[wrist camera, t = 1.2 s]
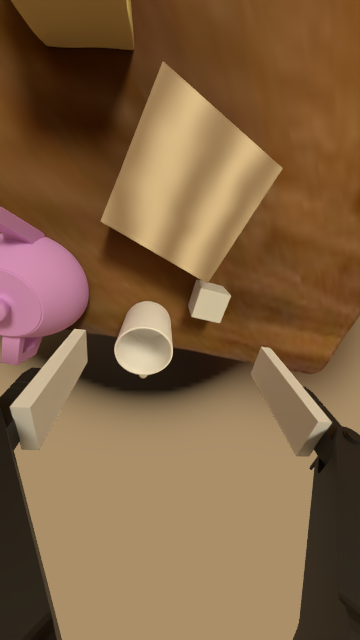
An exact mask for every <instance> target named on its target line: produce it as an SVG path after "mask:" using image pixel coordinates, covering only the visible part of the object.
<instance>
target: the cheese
mask: <svg viewBox="0 0 360 640" xmlns="http://www.w3.org/2000/svg"><path fill="white" fill-rule="evenodd" d="M11 2H12V3H13V4H14V6H15V7H16V9H17V10H18V12H19V13H20V15H21V16H22V17H23V19H24V20H25V22H26V23H27V24H28V26H29V27H30V28H31V30H32V31H33V32H34V33H35V35H36V36H37V37H38V38H39V39H40V40H41V41H42V42H43V43H44V44H45V45H46V46H51V47H65V48H86V47H99V48H113V49H124V50H134V37H133V24H132V11H131V0H11Z"/></svg>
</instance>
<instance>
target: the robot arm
mask: <svg viewBox="0 0 360 640" xmlns="http://www.w3.org/2000/svg"><path fill="white" fill-rule="evenodd" d="M86 363H87V345H86V330H80V329H74V330H73V331H72V332H71V334H70V335H69V336H68V337H67V338H66V340H65V341H64V342H63V343H62V345H61V346H60V347H59V348H58V349H57V350H56V352H55V353H54V354H53V355H52V357H51V358H50V359H49V360H48V361H47V363H46V364H45V365H44V366H43V367H42V368H31V369H29V370H27V371H26V372H24V373H22V374H21V376H20V377H19V378H18V379H17V380H16V381H15V382H14V383H13V384H12V385H11V386H10V388H8V389H7V391H6V392H5V393H4V394H3V395H2V396H1V397H0V640H62V638H61V635H60V631H59V627H58V623H57V619H56V615H55V611H54V607H53V603H52V599H51V595H50V591H49V587H48V583H47V580H46V576H45V572H44V568H43V564H42V560H41V556H40V552H39V548H38V544H37V540H36V536H35V532H34V528H33V524H32V521H31V517H30V513H29V509H28V505H27V501H26V497H25V493H24V489H23V485H22V481H21V477H20V473H19V470H18V466H17V462H16V458H15V454H14V449H15V448H16V446H17V444H18V443H19V442H20V445H21V449H23V450H39V449H40V448H41V446H42V444H43V442H44V441H45V439H46V437H47V435H48V433H49V431H50V430H51V428H52V426H53V424H54V422H55V420H56V419H57V417H58V415H59V413H60V411H61V409H62V408H63V406H64V404H65V402H66V400H67V398H68V397H69V395H70V393H71V391H72V389H73V387H74V386H75V384H76V382H77V380H78V378H79V376H80V374H81V373H82V371H83V369H84V367H85V365H86ZM251 376H252V378H253V380H254V382H255V383H256V385H257V387H258V389H259V390H260V392H261V394H262V396H263V397H264V399H265V401H266V403H267V405H268V406H269V408H270V410H271V412H272V414H273V415H274V417H275V419H276V421H277V423H278V424H279V426H280V428H281V429H282V431H283V433H284V435H285V437H286V439H287V440H288V442H289V444H290V446H291V447H292V449H293V451H294V453H295V455H296V456H310V454H311V453H312V451H313V450H315V451H316V453H317V455H318V456H317V458H316V459H315V461H314V462H313V463H312V465H311V466H310V469H311V470H312V469H313V468H314V467H315V469H314V479H313V489H312V499H311V509H310V519H309V530H308V539H307V549H306V560H305V570H304V581H303V590H302V600H301V610H300V619H299V624H298V628H297V630H296V633H295V635H294V638H293V640H360V435H359V434H357V433H356V432H355V431H353V430H352V429H349V428H347V427H342V426H341V425H340V424H339V422H338V421H337V420H336V419H335V418H334V417H333V416H332V414H331V413H330V412H329V411H328V410H327V409H326V407H325V406H323V404H322V403H321V402H320V401H319V399H318V398H317V397H316V396H315V395H314V394H313V392H311V391H310V390H308V389H307V388H306V387H302V386H301V384H300V383H299V382H298V381H297V380H296V378H295V377H294V376H293V375H292V374H291V372H290V371H289V370H288V369H287V368H286V366H285V365H284V364H283V363H282V362H281V360H280V359H279V358H278V357H277V356H276V354H275V353H274V352H273V351H272V349H271V348H266V347H261V348H260V351H259V354H258V356H257V359H256V362H255V364H254V367H253V370H252V372H251Z"/></svg>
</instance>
